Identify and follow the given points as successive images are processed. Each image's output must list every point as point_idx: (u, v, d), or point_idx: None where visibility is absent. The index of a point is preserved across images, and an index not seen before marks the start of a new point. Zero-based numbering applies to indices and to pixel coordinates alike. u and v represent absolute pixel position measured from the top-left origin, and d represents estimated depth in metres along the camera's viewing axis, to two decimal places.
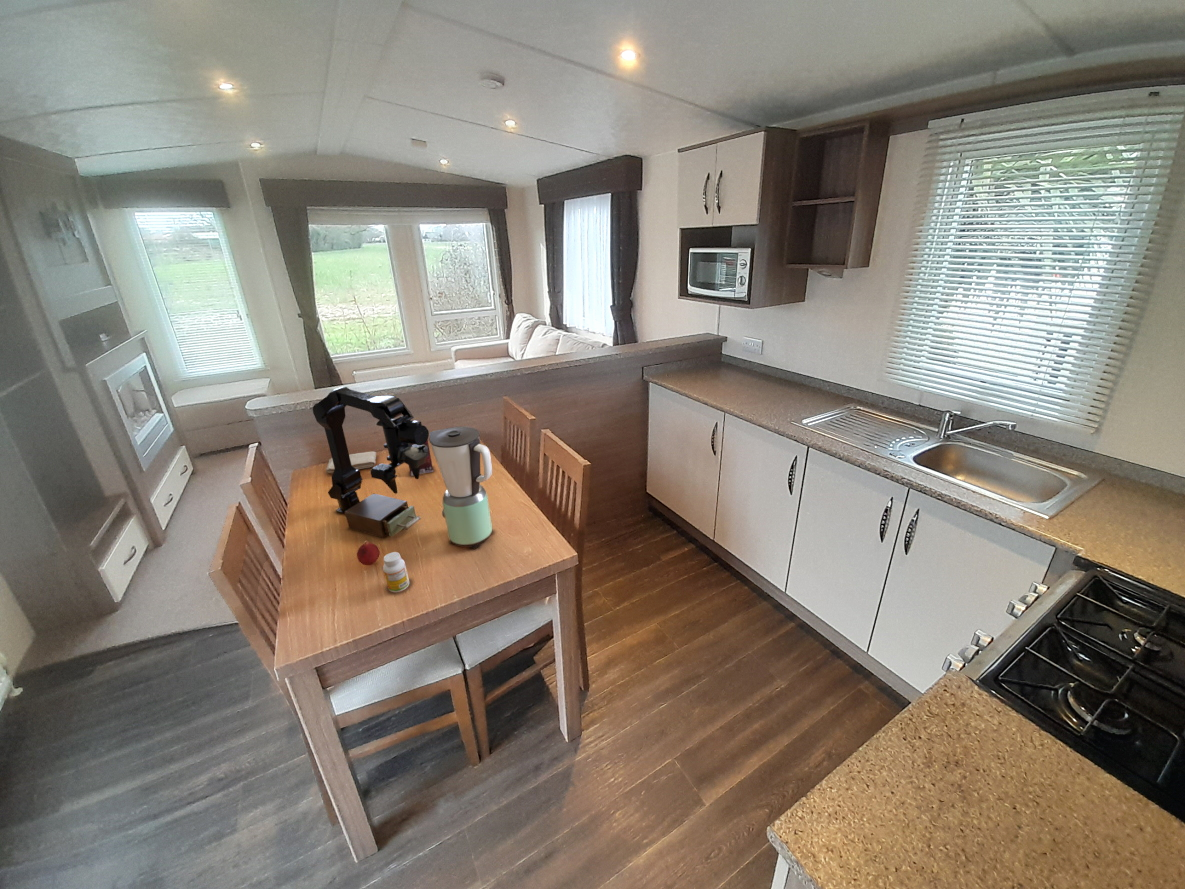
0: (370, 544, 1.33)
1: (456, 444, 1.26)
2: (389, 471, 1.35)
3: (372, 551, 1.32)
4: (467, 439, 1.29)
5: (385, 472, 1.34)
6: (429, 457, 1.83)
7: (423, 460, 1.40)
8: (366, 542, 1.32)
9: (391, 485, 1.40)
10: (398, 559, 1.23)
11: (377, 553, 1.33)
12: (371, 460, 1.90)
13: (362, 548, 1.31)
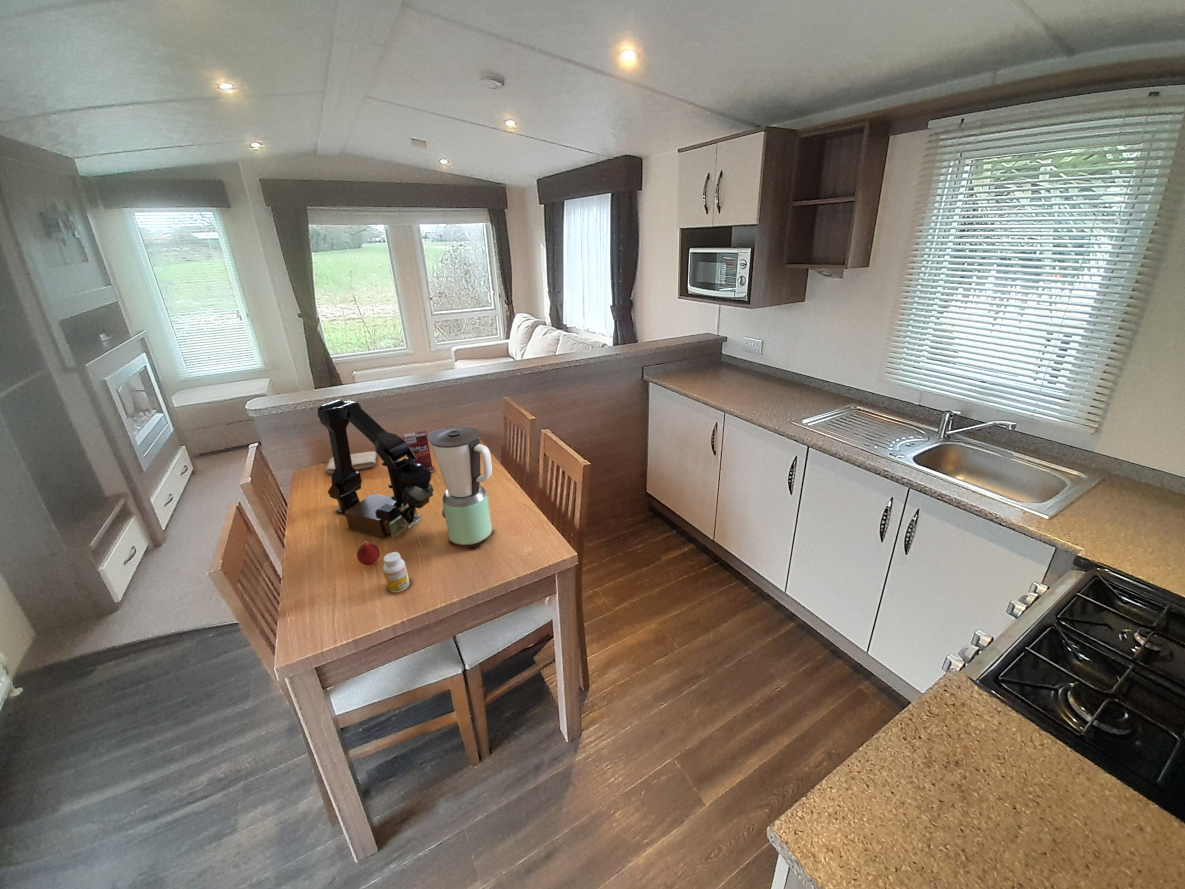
0: (370, 544, 1.33)
1: (456, 444, 1.26)
2: (394, 512, 1.37)
3: (372, 551, 1.32)
4: (467, 439, 1.29)
5: (390, 513, 1.36)
6: (429, 457, 1.83)
7: (427, 500, 1.42)
8: (366, 542, 1.32)
9: (406, 517, 1.46)
10: (398, 559, 1.23)
11: (377, 553, 1.33)
12: (371, 460, 1.90)
13: (362, 548, 1.31)
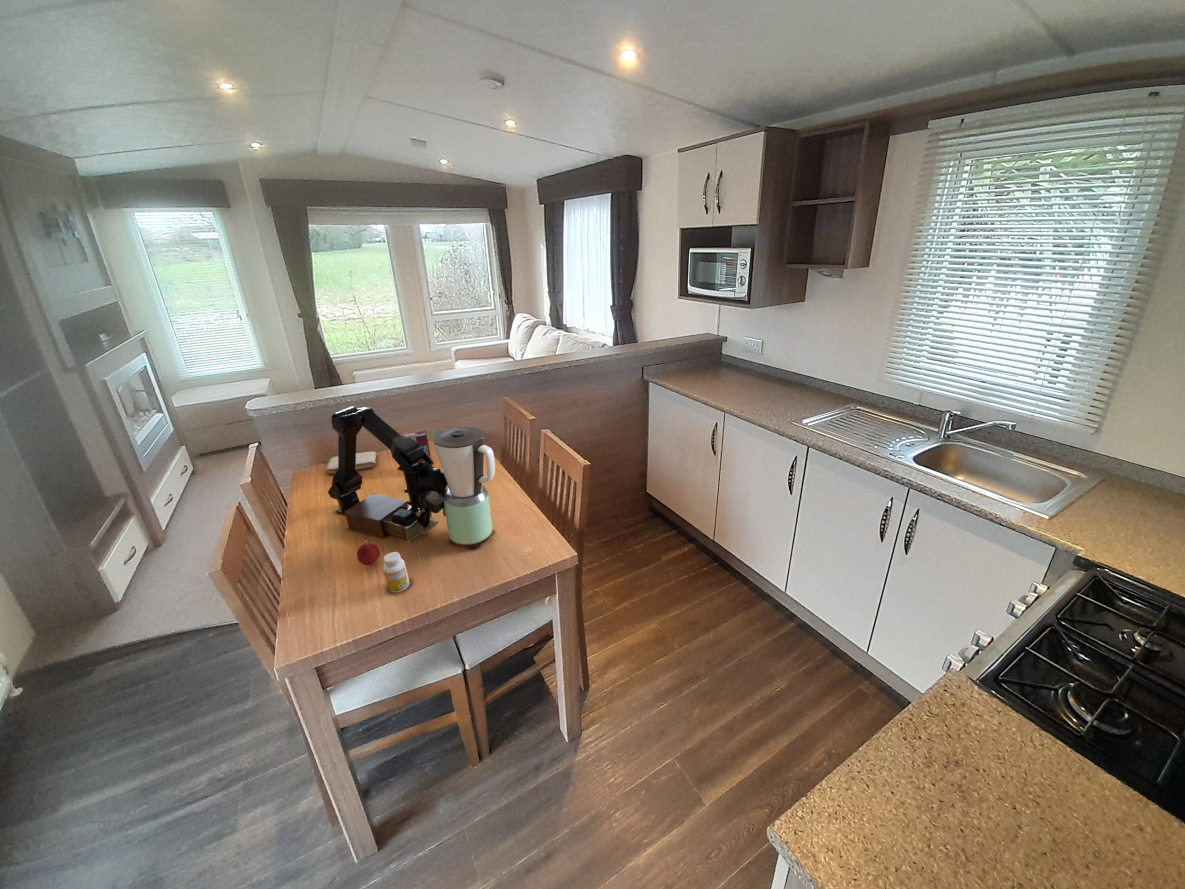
0: (370, 544, 1.33)
1: (460, 445, 1.26)
2: (410, 517, 1.35)
3: (372, 551, 1.32)
4: (471, 440, 1.28)
5: (406, 518, 1.34)
6: None
7: (443, 504, 1.40)
8: (366, 542, 1.32)
9: (422, 522, 1.44)
10: (398, 559, 1.23)
11: (377, 553, 1.33)
12: (371, 460, 1.90)
13: (362, 548, 1.31)
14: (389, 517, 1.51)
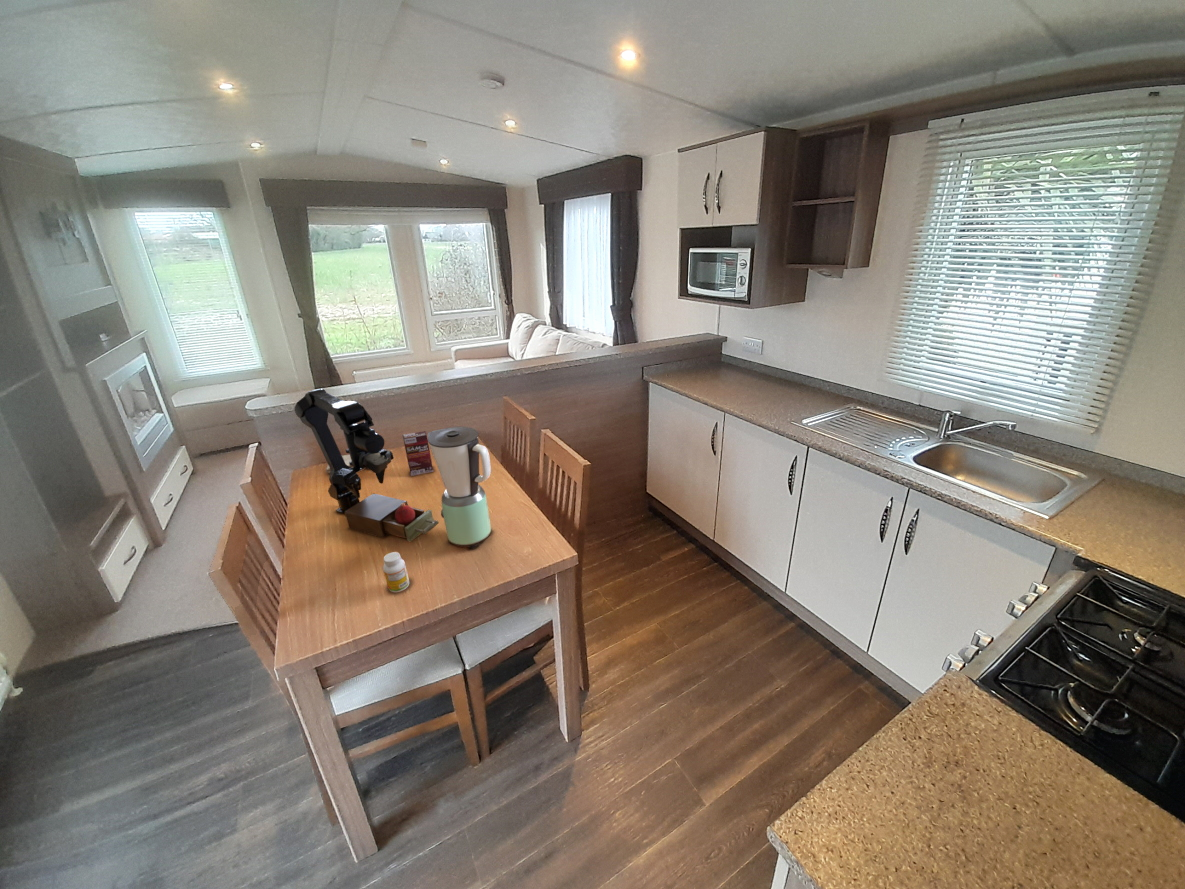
0: (406, 505, 1.47)
1: (455, 444, 1.26)
2: (350, 476, 1.37)
3: (411, 510, 1.47)
4: (466, 439, 1.29)
5: (345, 477, 1.36)
6: (429, 457, 1.83)
7: (385, 465, 1.42)
8: (403, 504, 1.46)
9: (353, 490, 1.42)
10: (398, 559, 1.23)
11: (414, 512, 1.48)
12: None
13: (402, 509, 1.45)
14: (389, 517, 1.51)
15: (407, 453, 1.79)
